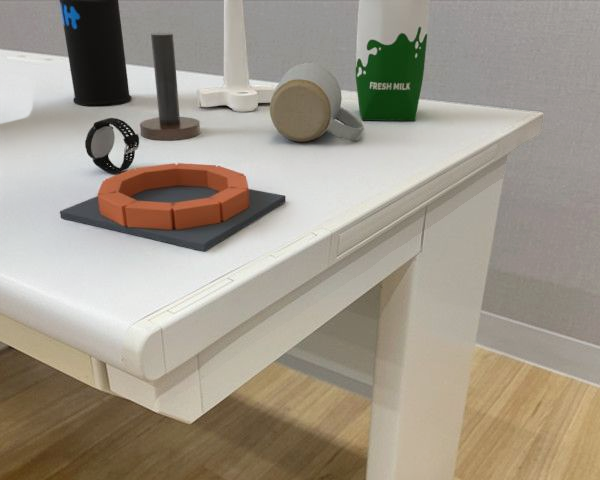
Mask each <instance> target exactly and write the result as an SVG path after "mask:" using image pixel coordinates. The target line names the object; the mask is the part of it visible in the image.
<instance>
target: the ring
mask: <svg viewBox="0 0 600 480" xmlns="http://www.w3.org/2000/svg"><path fill="white" fill-rule="evenodd" d="M171 186H192V187H208V188H211V189H214V190H216V191H219V193H217V194H215V195H213V196H211V197H209V198H203V199H196V200H190V201H183V202H176V203H165V202H150V201H137V200H135V199H133V198H131V196H133V195H135V194H138V193H140V192H142V191H145V190H149V189H157V188H164V187H171ZM249 189H250V188H249V184H248V179H247V175H245V174H244V173H241V172H240V171H239V172H238V171H236V170H233V169H230V168H226V167H223V166H220V165H217V166H216V164H203V163H202V164H198V163H183V162H182V163H181V162H178V163H177V164H176V163H174V162H173V163H166V164H158V165H150V166H142V167H136V168H132V169H129V170H125V171H123V172H120V173H119V174H118V173H117V174H115V175H113V176H110V177H108V178H105V180H103V181H102V182H101V184H100V187H99V189H98V191H97V196H98V203H99V209H100V213H101V215H103V216H105V217H107V218H109V219H111V220H113V221H115V222H116V223H118V224H120V225H122V226H128V227H134V228H147V229H161V230H172V229H173V228H175V229H176V230H180V229H186V228H192V227H198V226H204V225H210V224H216V223H220V222H221V221H226V220H228V219H229V218H231V217H233V216H235V215H236V214H238V213H240V212H242V211H243V210H245V209H247V208H248V206H249Z"/></svg>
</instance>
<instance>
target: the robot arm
mask: <svg viewBox="0 0 600 480" xmlns="http://www.w3.org/2000/svg"><path fill="white" fill-rule="evenodd" d="M74 1H91V2H104V1H106V0H74Z"/></svg>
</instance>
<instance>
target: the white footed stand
mask: <svg viewBox="0 0 600 480" xmlns="http://www.w3.org/2000/svg"><path fill="white" fill-rule="evenodd" d="M243 2H244V0H223V85H222V86H216V87H206V88H199V89H196V94H197V95H196V97H197V107H198V108H210V107H218V106H227V107H229V108H231V110H232V111H234V112H239V113H240V112H241V113H246V112H253V111H255V109H256V108H257V107H259V104H262V103H263V104H264V103H265V104H270V102H271V98H272V95H273V93H274V90H275V89H276V87H277V86H274V85H269V84H267V85H265V84H263V85H261V84H260V85H257V84H255V85H251V83H250V73H249V62H248V61H249V60H248V51H247V48H248V47H247V39H246V38H247V37H246V25H245V16H244V15H245V11H244V3H243Z"/></svg>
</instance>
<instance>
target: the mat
mask: <svg viewBox="0 0 600 480" xmlns="http://www.w3.org/2000/svg"><path fill="white" fill-rule="evenodd" d="M217 193H219V191H216V190H214V189H211V188H208V187H192V186H171V187H164V188H157V189H149V190H145V191H142V192H140V193H138V194H135V195H133V196H131V198H133V199H135V200H137V201H150V202H165V203H176V202H183V201H190V200H196V199H203V198H209V197H211V196H213V195H215V194H217ZM286 197H287V196H286V195H285V194H278V193H273V192H267V191H263V190H257V189H252V188H249V206H248V208H247V209H245V210H243V211H242V212H240V213H238V214H236V215H235V216H233V217H231V218H229V219H228V220H226V221H221V222H220V223H216V224H210V225H204V226H198V227H192V228H186V229H180V230H176V229H175V228H173V229H172V230H161V229H147V228H134V227H128V226H122V225H120V224H118V223H116V222H115V221H113V220H111V219H109V218H107V217H105V216H103V215H101V213H100V209H99V203H98V196H94V197H92V198H89V199H87V200H84V201H82V202H79V203H77V204H74V205H71V206H69V207H66V208H64V209H62V210H61V209H60V211H59V215H60V219H64V220H69V221H73V222H77V223H82V224H86V225H90V226H94V227H99V228H103V229H108V230H111V231H116V232H120V233H125V234H129V235H133V236H137V237H142V238H146V239H150V240H155V241H159V242H162V243H168V244H172V245H176V246H181V247H184V248H189V249H193V250H197V251H201V252H206V251H207V250H209V249H211V248H212V247H214V246H216V245H217V244H219V243H220V242H222V241H224V240H226V239H227V238H229V237H230V236H232V235H234V234H236V233H237V232H238V231H240V230H242V229H244V228H246V227H247V226H249V225H250V224H251V223H254V222H255V221H256V220H258V219H260V218H262V217H263V216H265V215H267V214H268V213H270V212H271V211H273V210H275V209H276V208H278V207H280V206H281V205H283V204H284V203H286V200H287V199H286Z"/></svg>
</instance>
